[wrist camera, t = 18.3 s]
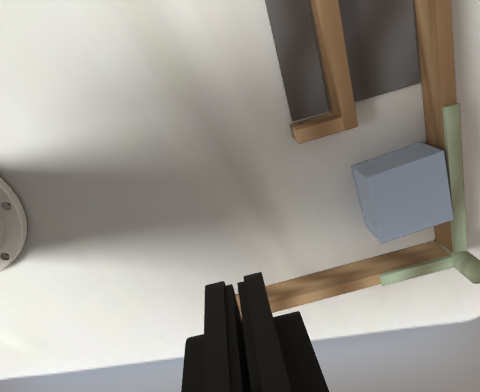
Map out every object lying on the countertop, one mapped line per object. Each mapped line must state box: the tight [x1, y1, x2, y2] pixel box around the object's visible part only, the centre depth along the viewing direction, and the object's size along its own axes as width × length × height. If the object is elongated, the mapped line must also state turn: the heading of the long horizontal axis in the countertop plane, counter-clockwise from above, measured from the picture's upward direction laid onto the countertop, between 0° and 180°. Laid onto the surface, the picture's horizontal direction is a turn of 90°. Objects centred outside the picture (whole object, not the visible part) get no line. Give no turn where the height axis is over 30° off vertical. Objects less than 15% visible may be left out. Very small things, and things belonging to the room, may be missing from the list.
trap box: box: [235, 0, 480, 318], centre depth 30 cm, size 26×33×6 cm
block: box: [351, 142, 454, 243], centre depth 34 cm, size 7×7×4 cm
